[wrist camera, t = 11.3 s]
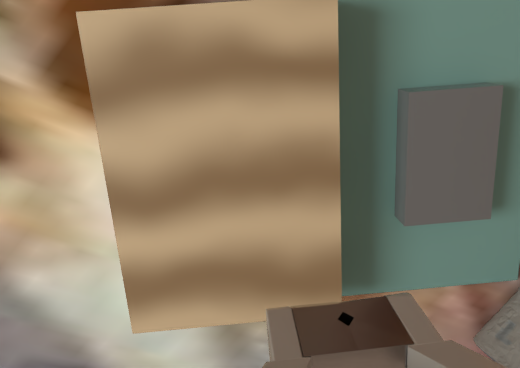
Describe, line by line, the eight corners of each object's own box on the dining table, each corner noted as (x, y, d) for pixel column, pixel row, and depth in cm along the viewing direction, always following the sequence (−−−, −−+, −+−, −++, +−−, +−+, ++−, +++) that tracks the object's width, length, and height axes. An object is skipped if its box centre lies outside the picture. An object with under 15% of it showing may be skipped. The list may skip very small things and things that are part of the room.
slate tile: (503, 85, 29) (486, 82, 31) (409, 92, 29) (397, 88, 31) (490, 218, 32) (475, 208, 34) (404, 226, 31) (394, 215, 33)
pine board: (96, 15, 28) (75, 11, 24) (323, -1, 29) (337, -6, 25) (143, 300, 34) (132, 333, 31) (329, 283, 35) (342, 313, 31)
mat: (331, -18, 29) (332, -19, 28) (551, -33, 29) (554, -34, 29) (336, 294, 35) (337, 296, 35) (515, 277, 36) (517, 279, 36)
